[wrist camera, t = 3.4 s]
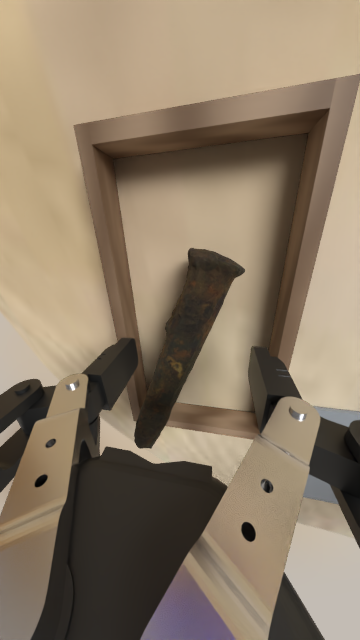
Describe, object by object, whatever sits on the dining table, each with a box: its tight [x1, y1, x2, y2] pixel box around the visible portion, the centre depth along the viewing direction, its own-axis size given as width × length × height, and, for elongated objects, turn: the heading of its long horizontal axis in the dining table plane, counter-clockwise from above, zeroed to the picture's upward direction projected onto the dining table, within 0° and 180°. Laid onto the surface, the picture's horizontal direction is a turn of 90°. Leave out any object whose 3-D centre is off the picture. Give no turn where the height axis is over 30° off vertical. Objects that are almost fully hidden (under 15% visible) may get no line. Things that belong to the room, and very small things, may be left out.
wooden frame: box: [74, 74, 360, 440], centre depth 16 cm, size 15×26×2 cm, turn 2°
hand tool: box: [134, 248, 245, 448], centre depth 16 cm, size 19×4×5 cm, turn 159°
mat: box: [303, 406, 360, 504], centre depth 22 cm, size 12×16×1 cm
